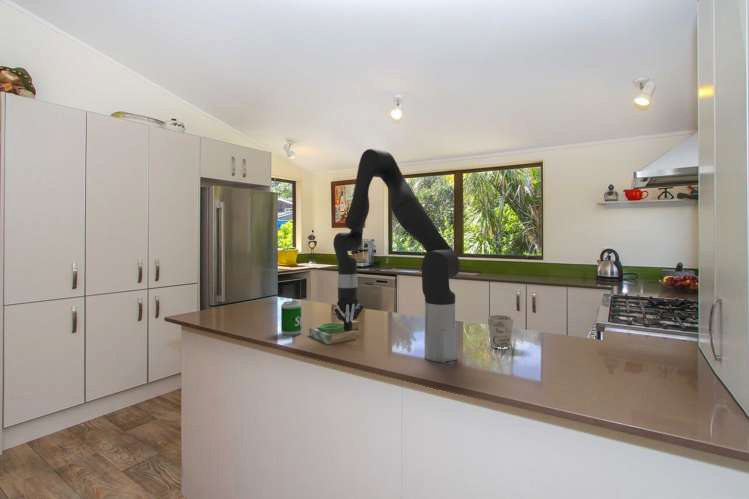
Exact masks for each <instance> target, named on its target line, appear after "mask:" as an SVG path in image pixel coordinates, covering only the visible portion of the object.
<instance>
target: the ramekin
mask: <svg viewBox="0 0 749 499" xmlns="http://www.w3.org/2000/svg"><path fill="white" fill-rule="evenodd" d="M341 323H342V322H325V323H320V325H318V326H319V327H320V330H321V331H323V332H326V333H328V334H334V333H340V332H343V327H344V325H343V324H341Z"/></svg>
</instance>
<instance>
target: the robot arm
mask: <svg viewBox="0 0 749 499" xmlns="http://www.w3.org/2000/svg"><path fill="white" fill-rule="evenodd" d="M402 173H403V172H402V171H401V169H400V167H399V166H398V164H397V162H396V160H395V158H394V156H393V154H391V153H390V152H389V151H386V150H382V149H376V148H368V149H366V150H364V151H363V152H362V154H361V156H360V160H359V163H358V168H357V173H356V178H355V184H354V190H353V194H352V199H351V203H350V205H349V208H348V211H347V214H346V217H345V220H344V225H345V227H346V228H347V229H349V230H350V231H349V232H339V233H337V234H336V235H334V238H333V243H332V244H333V249H334V252H335V256H336V257H335V258H336V260H337V265H338V266H337V268H338V269H337V271H338V272H337V274H338V275H337V299H338V300H337V302H336V306H335V307H332V308H331V311H332V312H333V314H334V315H335V316H336V317H337V319H338V320H339V321H341V322H342V323H344V330H345V331H344V332H346V331H353V330H352V321H355V320H357V318H358V317H359V315H360V314H361V312H362V310H363V309H364V306H363V305H361V304H360V303H359V301H358V297H359V296H358V295H359V288H358V285H359V284H358V282H359V281H358V280H359V279H358V264H357V263H358V261H357V259H356V258H354V257H350V255H349V252H356V251H357V250H359V248H360V247H361V245H362V243H363V233H364V226H365V223H366V220H367V218H368V215H369V211H370V198H369V190H370V185H371V183H372V181H373V178H379V179H381V180H382V181H383V182H384V184H385V186H386V187H387V189H388V191H389V196H390V208H391V211H392V213H393V215H394V217H395V218H396V221H398V223H399V224H400V226H401V228H402V229H403V230H404V231H405V232H406V233H407V234H409V235H410V236H411V237H413V239H414V240H416V241H417V242H418V244H420V246H421V247H423V249H424V250H425V252H426V253H425V255H424V257H423V258H422V262H421V288H422V294H423V295H424V296H423V297H424V353H423V354H424V358H425V359H427V360H428V361H432V362H436V361H437V362H438V363H442V364H443V363H444V364H445V363H447V361H448V362H451V361H457V359H458V328H456V294H455V292H453V291H452V290H451V289H450V279H453V278H455V277H457V275H459V273H460V270H461V262H460V259H459V256H458V254H456V252H455V251H454V250H453V248H452V247H451V246H450V244H449V243H448V242H447V241H446V240H445V238H444V237H443V236H442V234H441V233H440V231H439V230H438V229H437V227H436V225H435V224H434V222H433V221H432V219H431V218H430V216H429V215H428V213H427V211H426V209H425V208H424V206H423V205H422V203H421V202H420V200H419V198H417V196H416V195H415V193H414V191H413V190H412V189H411V187H410V185H409V183H408V182H407V180H406V179H405V177H404V176H403V174H402ZM437 362H436V363H437Z"/></svg>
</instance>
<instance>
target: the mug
mask: <svg viewBox="0 0 749 499" xmlns="http://www.w3.org/2000/svg"><path fill="white" fill-rule="evenodd" d="M513 325H514V317H512V316H509V315H503V314H502V315H501V314H493V315H488V316H487V326H488V333H489V342H490V347H491V346H494V347H501V348H504V347H509V348H510V345H511V340H512V339H511V338H512V334H513V333H512V332H513Z"/></svg>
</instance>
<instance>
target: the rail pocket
mask: <svg viewBox="0 0 749 499" xmlns="http://www.w3.org/2000/svg"><path fill="white" fill-rule="evenodd" d="M340 323H341V324H343V325H344V322H340ZM319 326H320V325H317V326H310V327H309V328H308V330H309V332H308V333H309V334H308V335H309V336H310V337H311V338H314V339H315V340H318V341H320V342H322V343H324V344H326V345H332V344H337V343H343V342H350V341H355V340H357V331H356V330H359V321H358V320H353V321H352V330H351V331H345V330H344V327H343V332H340V333H334V334H328V333H326V332H323V331H321V330H320V327H319Z"/></svg>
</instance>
